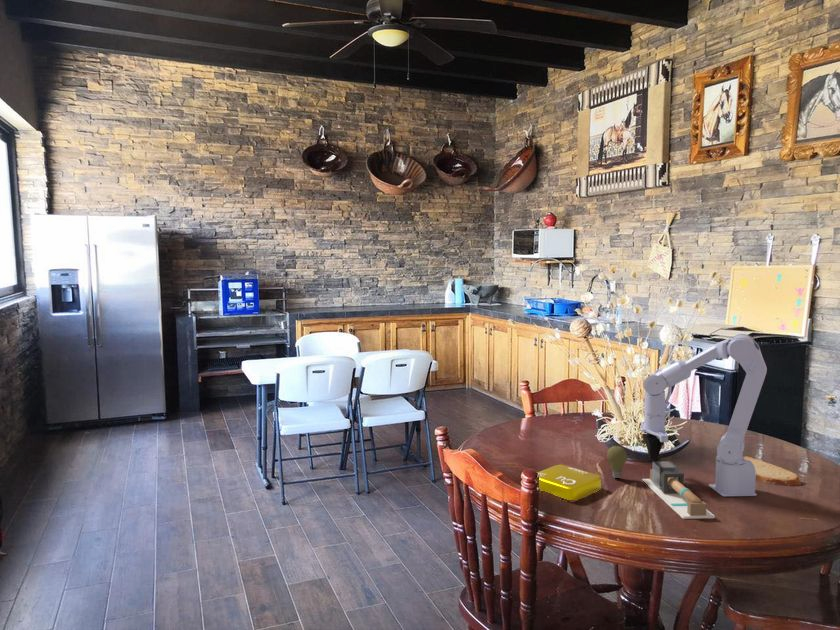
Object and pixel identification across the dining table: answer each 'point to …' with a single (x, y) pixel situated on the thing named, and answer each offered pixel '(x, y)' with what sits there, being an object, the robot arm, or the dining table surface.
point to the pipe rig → (681, 500)
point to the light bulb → (616, 460)
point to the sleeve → (662, 467)
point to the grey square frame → (668, 475)
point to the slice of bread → (773, 473)
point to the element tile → (568, 482)
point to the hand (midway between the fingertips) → (653, 458)
